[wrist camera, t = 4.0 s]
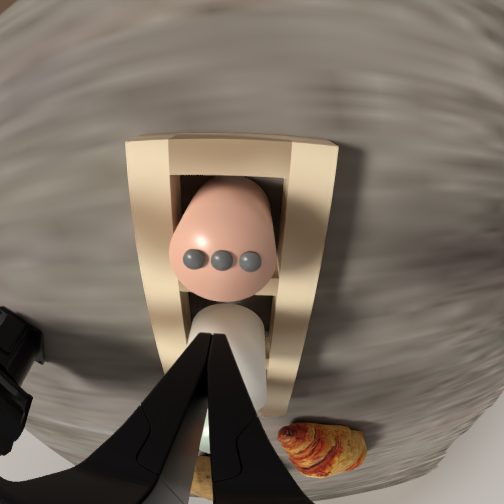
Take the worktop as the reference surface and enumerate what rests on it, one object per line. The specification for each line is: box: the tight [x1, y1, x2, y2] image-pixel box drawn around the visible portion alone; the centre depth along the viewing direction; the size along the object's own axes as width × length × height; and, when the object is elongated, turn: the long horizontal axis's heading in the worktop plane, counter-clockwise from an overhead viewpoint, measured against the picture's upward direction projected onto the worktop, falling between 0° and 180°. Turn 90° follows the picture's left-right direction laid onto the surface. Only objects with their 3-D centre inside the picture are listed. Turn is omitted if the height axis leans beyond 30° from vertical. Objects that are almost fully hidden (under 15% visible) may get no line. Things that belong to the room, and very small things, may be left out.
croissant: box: [277, 422, 367, 478], centre depth 33 cm, size 21×10×8 cm
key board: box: [125, 133, 339, 416], centre depth 21 cm, size 25×11×2 cm, turn 178°
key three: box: [169, 175, 277, 302], centre depth 16 cm, size 5×5×6 cm
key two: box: [187, 303, 267, 415], centre depth 18 cm, size 5×5×6 cm
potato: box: [190, 456, 213, 501], centre depth 35 cm, size 10×14×8 cm
